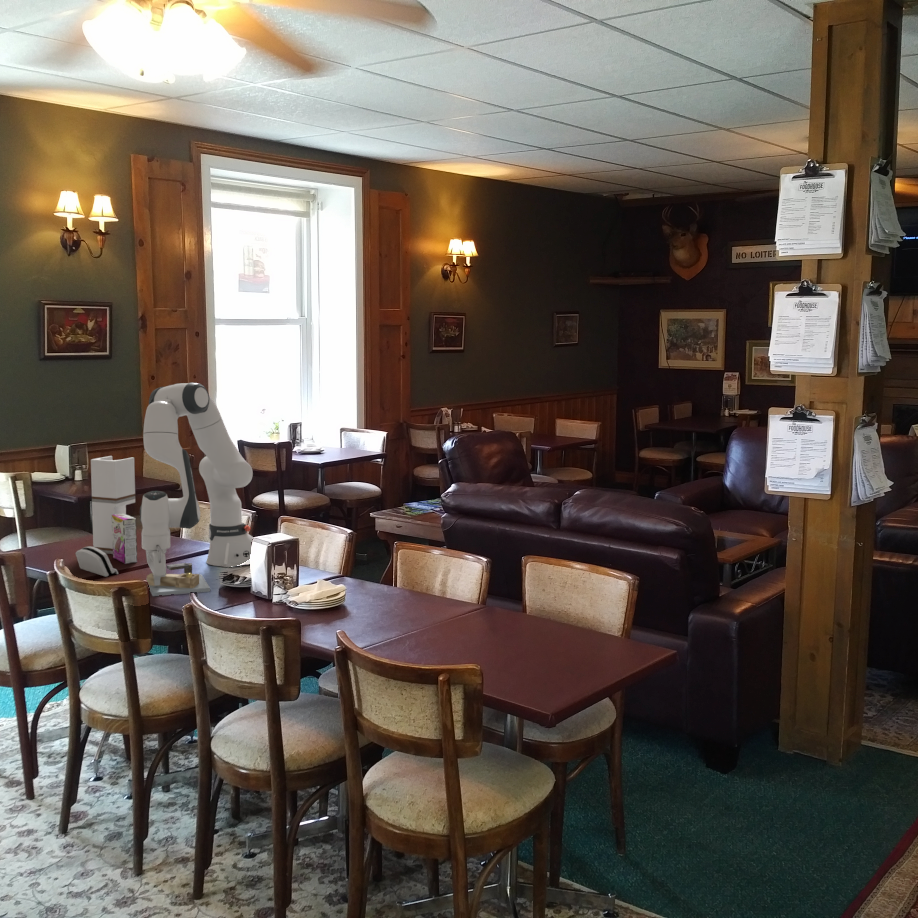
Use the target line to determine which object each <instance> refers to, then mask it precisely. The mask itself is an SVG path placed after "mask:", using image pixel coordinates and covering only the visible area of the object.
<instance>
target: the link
mask: <svg viewBox="0 0 918 918" xmlns="http://www.w3.org/2000/svg"><path fill="white" fill-rule="evenodd" d="M199 575H200V573H192V577H186V574H185V573H184V572H183V573H180V574H179V573H166V576H165V577H161V578H160V585H154V582H153V573H151V572H150V573H149V574H147V575H146V579H147V582H148V584H149V585H153V586H176V587H177V588H194V587H195V586H197V585H198V584H199Z"/></svg>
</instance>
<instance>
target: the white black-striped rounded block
mask: <svg viewBox="0 0 918 918" xmlns="http://www.w3.org/2000/svg"><path fill="white" fill-rule="evenodd" d="M75 556H76V560H77V562H78V566H79V569H80V570H84V571H87V572H90V573H93V574H97V575H100V576H103V577H108V576H110V574H116V575H119V571H118V569H117V568H114V566H113V565H112V563H111V561H110V558H109V556H108V554H107V553H104V552H103V551H101V550H99V549H97V548H95V547H93V546H90V545H89V546H84V547H82V548H81V549H77V550H76V552H75Z"/></svg>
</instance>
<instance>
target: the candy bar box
mask: <svg viewBox="0 0 918 918" xmlns="http://www.w3.org/2000/svg"><path fill="white" fill-rule="evenodd" d="M137 538H138V537H137V518H136V517H134V516H131V515H129V514H127V513H126V514H124V513H121V514H113V515H112V540H113V554H112V559H114V560H116V561H118V562H121V563H122V564H124V565H129V564H134V563H138V543H137Z"/></svg>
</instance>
